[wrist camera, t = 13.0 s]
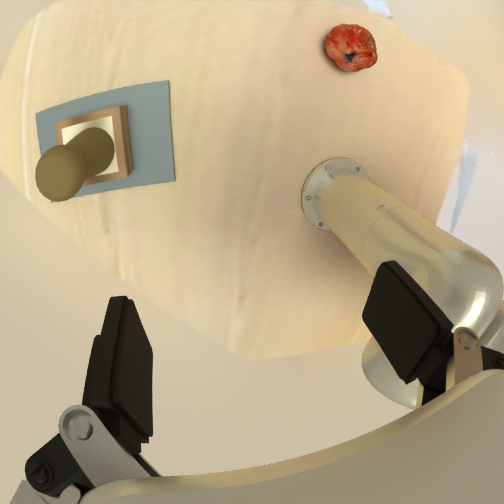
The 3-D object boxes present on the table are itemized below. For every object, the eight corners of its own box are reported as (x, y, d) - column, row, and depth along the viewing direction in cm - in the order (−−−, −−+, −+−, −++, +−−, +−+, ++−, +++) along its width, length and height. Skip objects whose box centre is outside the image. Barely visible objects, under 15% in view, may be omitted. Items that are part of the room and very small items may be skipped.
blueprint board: (168, 80, 28) (168, 80, 27) (175, 179, 36) (174, 181, 35) (38, 112, 25) (35, 113, 24) (53, 199, 32) (51, 202, 32)
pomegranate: (326, 24, 28) (305, 41, 25) (368, 12, 23) (357, 25, 20) (348, 62, 33) (332, 86, 30) (388, 54, 28) (382, 77, 25)
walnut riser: (127, 105, 28) (119, 106, 24) (133, 169, 33) (127, 178, 29) (67, 119, 26) (54, 123, 23) (76, 180, 31) (65, 190, 28)
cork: (87, 184, 28) (50, 223, 19) (63, 147, 25) (16, 173, 16) (123, 156, 28) (94, 186, 19) (99, 116, 24) (57, 129, 15)
